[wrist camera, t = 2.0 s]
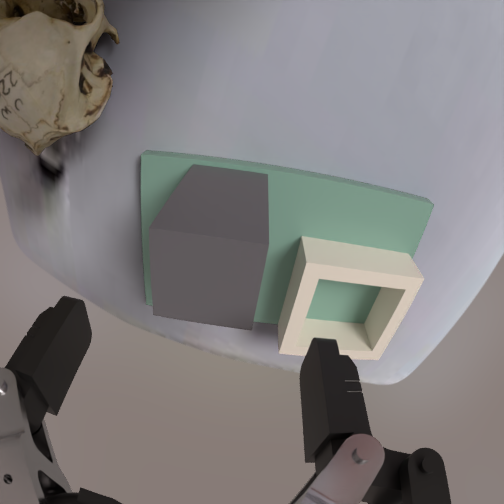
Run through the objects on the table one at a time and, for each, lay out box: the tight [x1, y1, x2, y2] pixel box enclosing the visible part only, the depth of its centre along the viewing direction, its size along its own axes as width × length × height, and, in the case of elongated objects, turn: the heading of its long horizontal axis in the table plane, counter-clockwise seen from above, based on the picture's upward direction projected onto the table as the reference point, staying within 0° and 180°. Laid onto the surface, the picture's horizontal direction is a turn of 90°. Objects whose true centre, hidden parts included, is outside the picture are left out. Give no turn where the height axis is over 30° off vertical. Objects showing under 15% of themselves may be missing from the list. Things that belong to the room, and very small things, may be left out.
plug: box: [149, 164, 269, 330], centre depth 16 cm, size 5×4×8 cm
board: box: [141, 150, 434, 324], centre depth 22 cm, size 12×19×1 cm, turn 82°
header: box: [278, 236, 424, 360], centre depth 21 cm, size 8×8×3 cm
